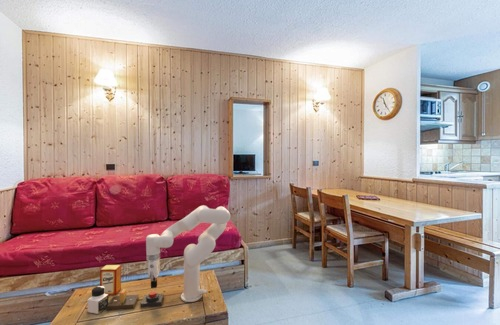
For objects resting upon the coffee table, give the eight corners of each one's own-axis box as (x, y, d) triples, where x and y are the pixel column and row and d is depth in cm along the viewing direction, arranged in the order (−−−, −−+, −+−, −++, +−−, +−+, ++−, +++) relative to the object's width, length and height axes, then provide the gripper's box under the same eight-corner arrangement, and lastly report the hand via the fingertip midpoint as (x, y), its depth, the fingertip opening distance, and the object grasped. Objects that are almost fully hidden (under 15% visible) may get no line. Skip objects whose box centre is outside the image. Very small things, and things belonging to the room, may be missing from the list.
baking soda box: (99, 295, 151) (100, 269, 151) (105, 289, 158) (105, 264, 158) (115, 295, 152) (116, 269, 152) (120, 289, 158) (121, 264, 158)
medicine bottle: (98, 314, 133) (98, 292, 133) (87, 312, 134) (87, 290, 134) (108, 306, 140) (108, 285, 140) (97, 304, 141) (97, 283, 141)
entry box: (163, 297, 150) (163, 290, 150) (160, 306, 141) (161, 299, 141) (144, 298, 148) (144, 292, 148) (140, 307, 139) (140, 300, 139)
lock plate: (138, 298, 148) (138, 294, 148) (133, 308, 138) (133, 303, 138) (113, 300, 146) (113, 296, 146) (106, 310, 136) (106, 306, 136)
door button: (156, 294, 147) (156, 291, 147) (155, 297, 143) (155, 294, 143) (150, 294, 146) (150, 291, 146) (148, 298, 143) (148, 295, 143)
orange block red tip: (123, 297, 145) (123, 288, 145) (126, 297, 145) (126, 288, 145) (119, 303, 139) (119, 293, 139) (123, 302, 139) (123, 293, 139)
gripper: (157, 260, 138) (158, 293, 138) (162, 250, 152) (163, 280, 153) (143, 262, 136) (144, 294, 137) (149, 251, 151) (150, 281, 152)
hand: (154, 287), depth 145 cm, fingers closed
